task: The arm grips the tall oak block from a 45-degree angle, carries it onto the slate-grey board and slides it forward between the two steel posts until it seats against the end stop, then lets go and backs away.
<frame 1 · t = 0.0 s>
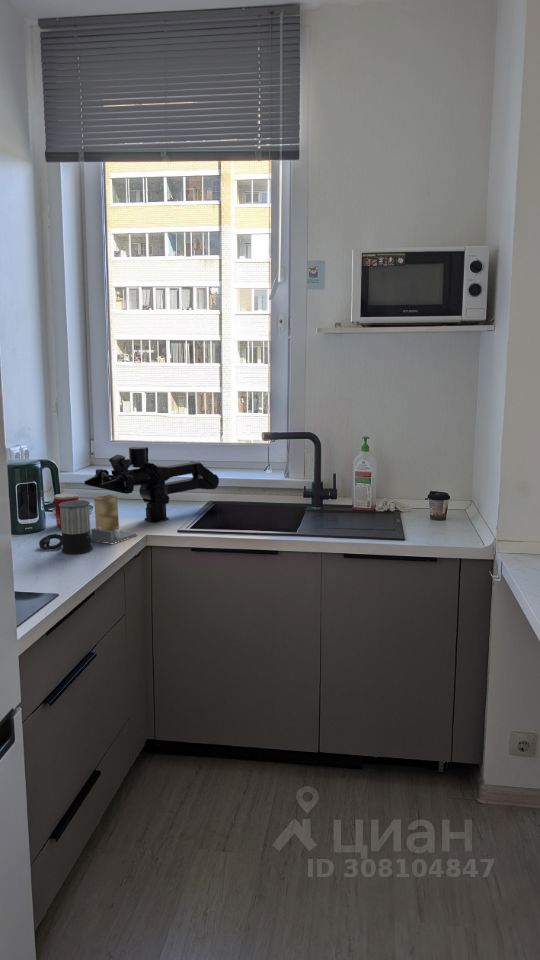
hand: (92, 484, 245), 17 cm above the counter, tool horizontal, fingers open, 9 cm apart
milk frother: (66, 550, 230), on the counter
canned food: (68, 526, 259), on the counter
oak block: (107, 532, 250), on the counter
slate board: (116, 537, 243), on the counter
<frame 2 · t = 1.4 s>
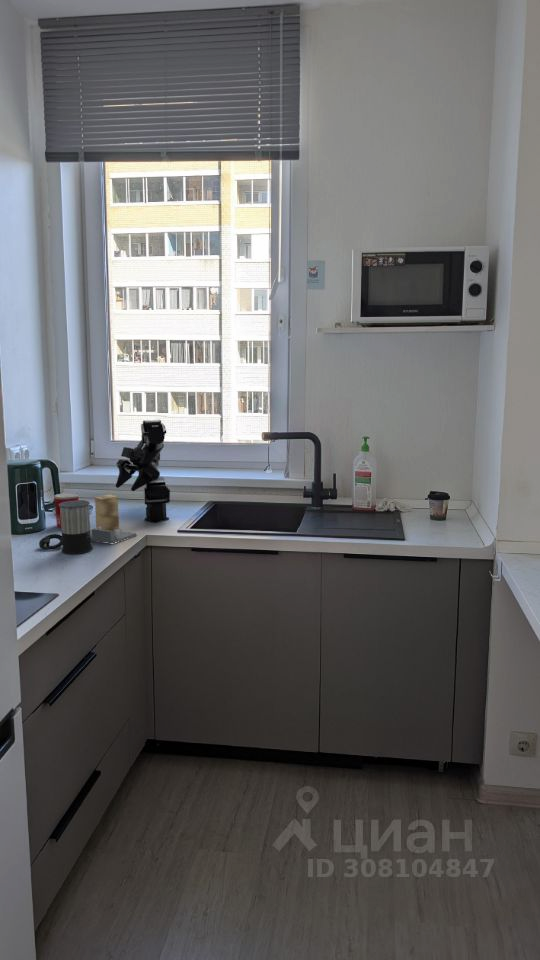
hand: (124, 488, 253), 14 cm above the counter, tool tilted 45°, fingers open, 9 cm apart
nothing on the counter moved.
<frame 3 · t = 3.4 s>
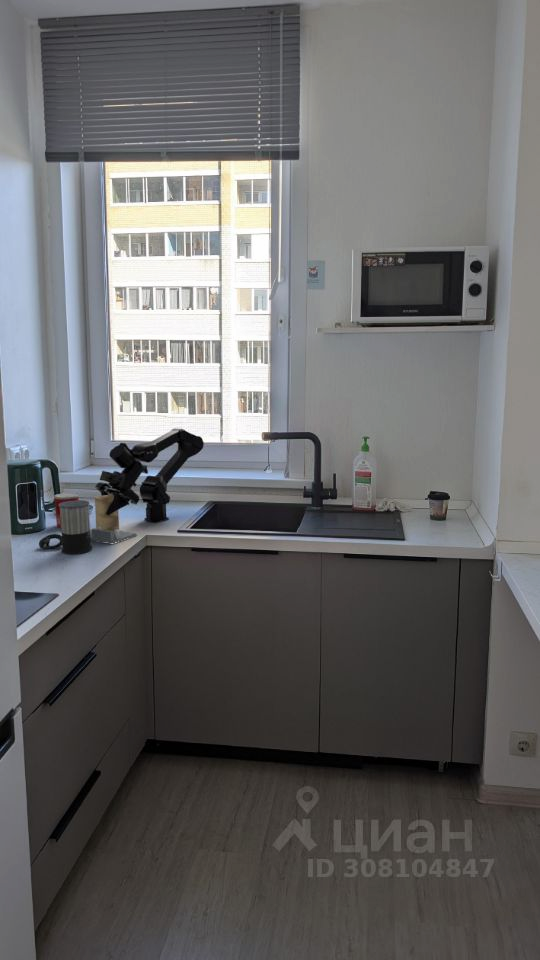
hand: (102, 513, 248), 7 cm above the counter, tool tilted 45°, fingers closed on oak block, 5 cm apart
oak block: (107, 531, 250), on the counter, touching gripper
everything else where it was.
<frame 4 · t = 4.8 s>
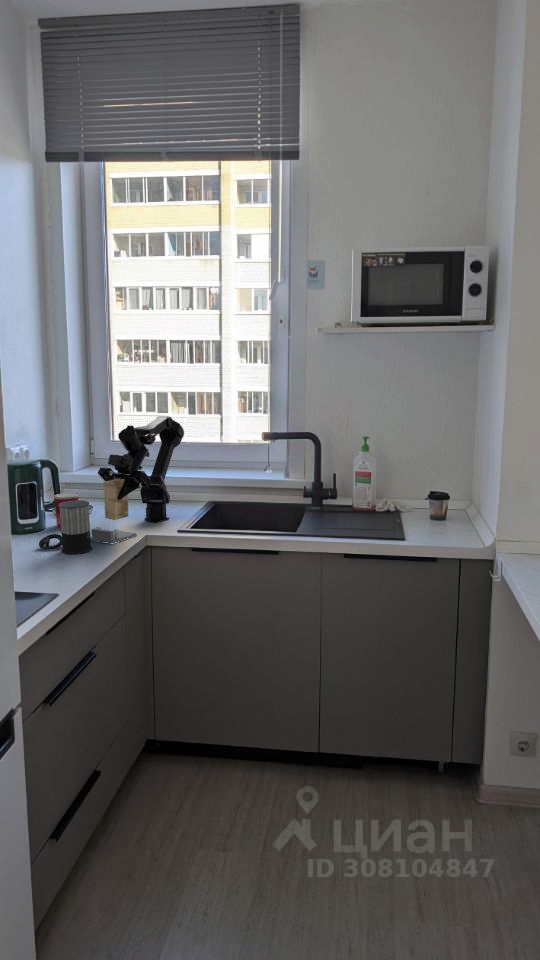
hand: (112, 498, 240), 13 cm above the counter, tool tilted 45°, fingers closed on oak block, 5 cm apart
oak block: (116, 517, 243), point 6 cm above the counter, touching gripper
everything else where it was.
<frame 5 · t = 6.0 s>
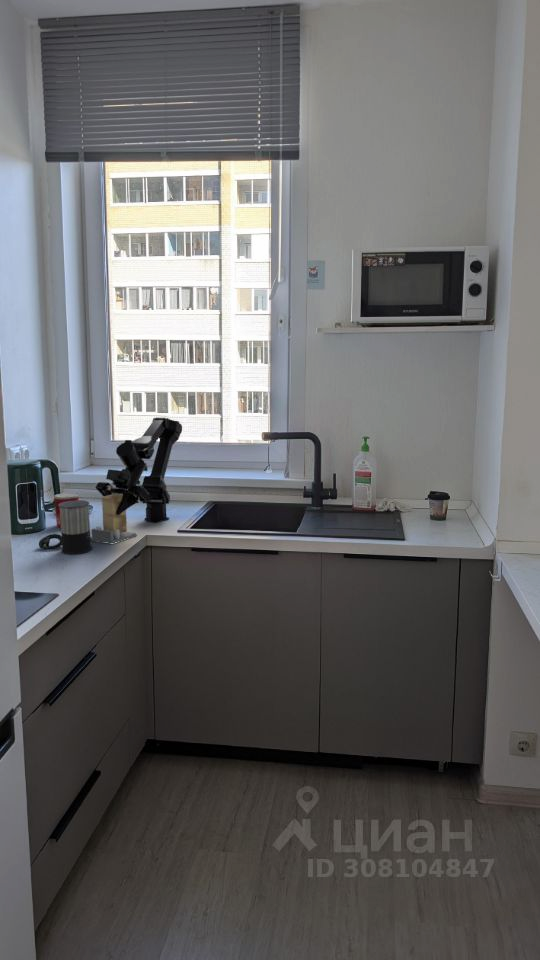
hand: (111, 513, 239), 8 cm above the counter, tool tilted 45°, fingers closed on oak block, 5 cm apart
oak block: (115, 532, 242), point 2 cm above the counter, touching gripper
everything else where it was.
when the fingers open (8 cm above the counter, at t = 6.7 s): oak block stays where it is, resting on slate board.
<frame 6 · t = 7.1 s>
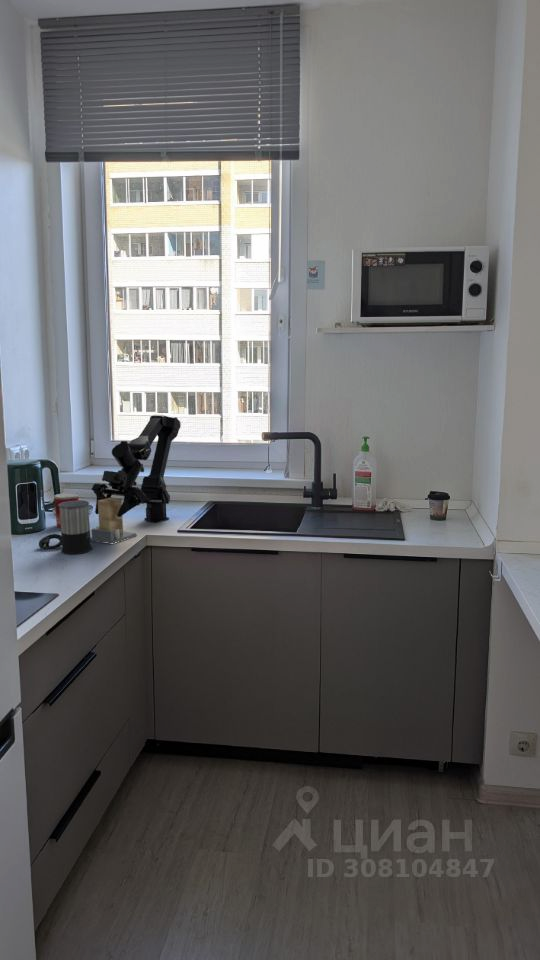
hand: (107, 515, 238), 8 cm above the counter, tool tilted 45°, fingers open, 9 cm apart
oak block: (111, 536, 241), point 1 cm above the counter, touching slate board
everything else where it was.
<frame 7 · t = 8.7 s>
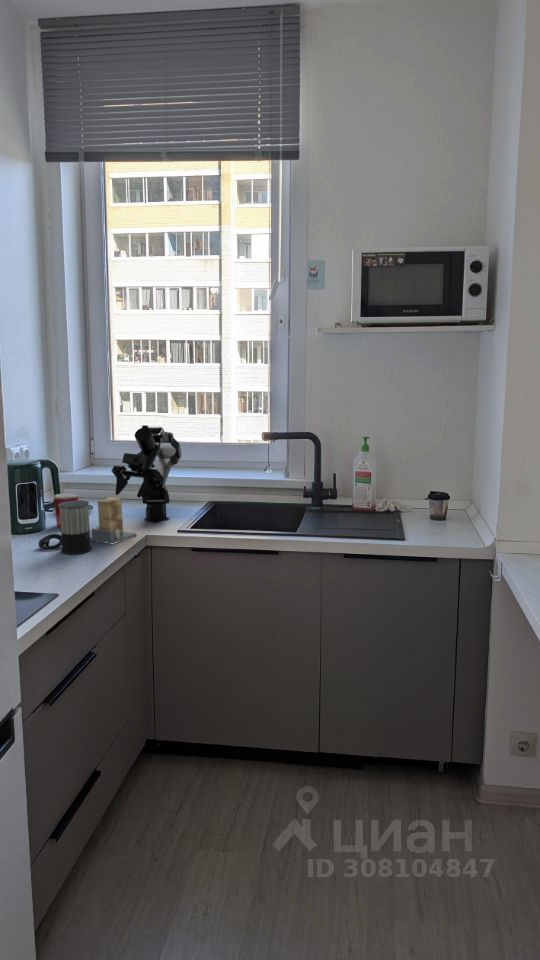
hand: (127, 495, 248), 12 cm above the counter, tool tilted 45°, fingers open, 9 cm apart
nothing on the counter moved.
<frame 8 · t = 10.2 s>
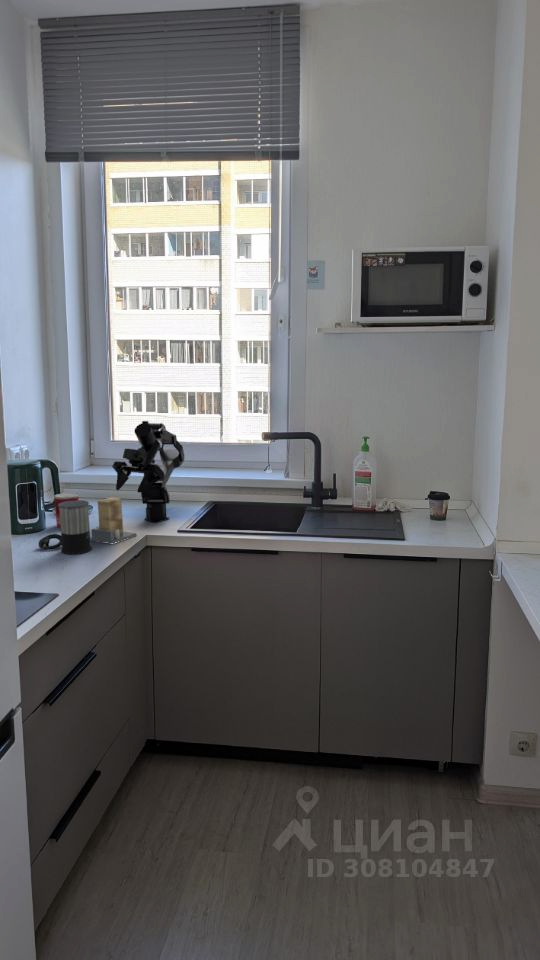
hand: (127, 490, 249), 14 cm above the counter, tool tilted 45°, fingers open, 9 cm apart
nothing on the counter moved.
at the end: oak block 0.3 cm from the target spot, point 1.0 cm above the counter; oak block tilted 0°; the gripper is holding nothing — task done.
